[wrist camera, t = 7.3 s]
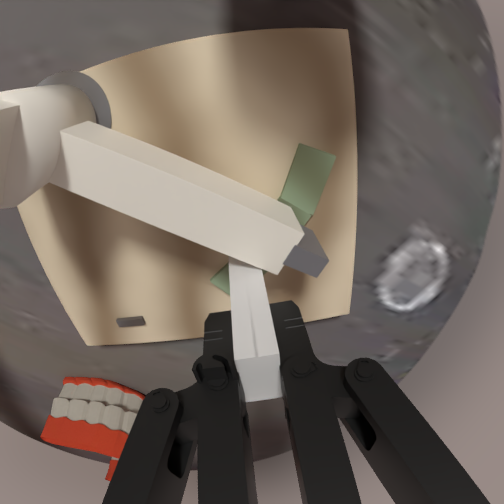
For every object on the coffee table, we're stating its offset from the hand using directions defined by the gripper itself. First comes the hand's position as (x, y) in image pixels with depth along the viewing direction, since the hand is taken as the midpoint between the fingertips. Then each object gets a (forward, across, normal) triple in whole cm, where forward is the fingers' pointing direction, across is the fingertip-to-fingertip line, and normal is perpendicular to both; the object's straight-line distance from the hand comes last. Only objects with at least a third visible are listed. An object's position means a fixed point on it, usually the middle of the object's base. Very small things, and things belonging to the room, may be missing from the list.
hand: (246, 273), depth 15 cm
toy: (+4, -16, -18) cm, 24 cm away
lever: (+2, -3, +6) cm, 7 cm away
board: (+4, -3, +3) cm, 6 cm away
